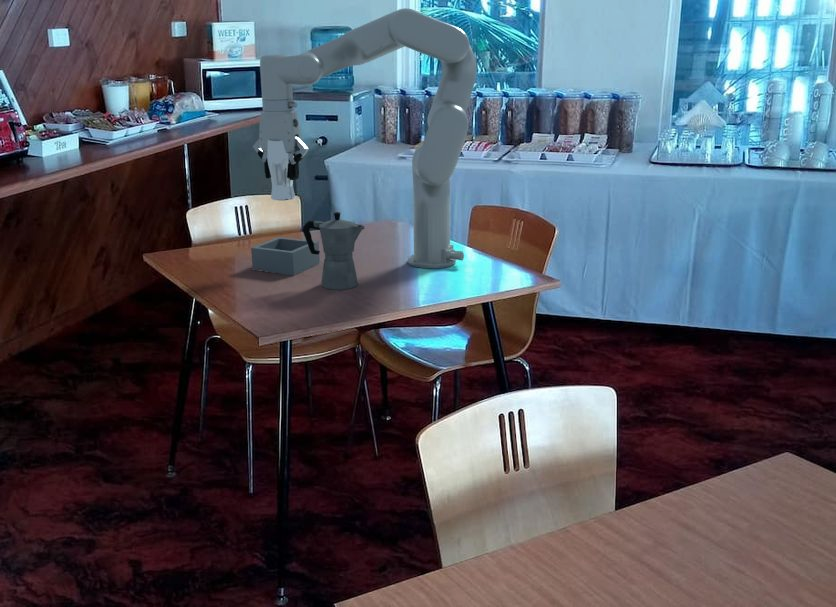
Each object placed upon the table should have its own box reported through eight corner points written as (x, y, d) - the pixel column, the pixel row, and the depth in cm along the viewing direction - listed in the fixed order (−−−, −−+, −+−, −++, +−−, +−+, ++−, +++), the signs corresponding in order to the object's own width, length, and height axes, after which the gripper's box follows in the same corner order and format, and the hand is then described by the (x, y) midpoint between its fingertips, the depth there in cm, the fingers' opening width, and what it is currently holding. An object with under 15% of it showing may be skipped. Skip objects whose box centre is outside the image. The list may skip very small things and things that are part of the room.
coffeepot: (370, 280, 226) (369, 209, 220) (360, 291, 217) (358, 217, 212) (311, 277, 229) (308, 206, 223) (298, 288, 220) (295, 215, 215)
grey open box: (319, 263, 241) (318, 241, 239) (294, 275, 230) (292, 252, 229) (279, 258, 246) (278, 237, 244) (252, 270, 235) (251, 247, 234)
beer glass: (294, 200, 229) (291, 140, 225) (267, 201, 230) (263, 140, 225) (298, 195, 236) (295, 136, 231) (271, 195, 236) (268, 136, 232)
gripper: (316, 106, 225) (319, 178, 231) (257, 103, 232) (261, 173, 238) (299, 109, 219) (303, 183, 224) (239, 106, 226) (245, 178, 232)
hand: (282, 177), depth 231 cm, fingers closed on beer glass, 6 cm apart
